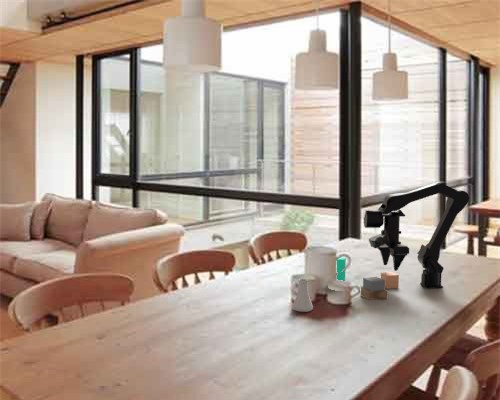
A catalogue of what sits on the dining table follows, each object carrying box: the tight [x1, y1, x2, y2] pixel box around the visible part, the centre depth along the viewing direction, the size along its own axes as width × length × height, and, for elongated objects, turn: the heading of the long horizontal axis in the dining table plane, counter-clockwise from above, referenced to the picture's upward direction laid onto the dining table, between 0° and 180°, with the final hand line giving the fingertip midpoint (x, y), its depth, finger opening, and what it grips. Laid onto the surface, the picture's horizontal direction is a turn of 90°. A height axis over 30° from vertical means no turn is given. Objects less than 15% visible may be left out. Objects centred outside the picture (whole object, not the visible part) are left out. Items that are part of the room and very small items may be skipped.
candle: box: [337, 256, 347, 282], centre depth 212 cm, size 6×6×12 cm
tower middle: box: [362, 276, 386, 291], centre depth 195 cm, size 6×6×4 cm
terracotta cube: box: [380, 271, 400, 289], centre depth 210 cm, size 5×5×5 cm
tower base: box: [360, 285, 388, 301], centre depth 195 cm, size 7×7×4 cm
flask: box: [291, 278, 314, 313], centre depth 181 cm, size 7×7×10 cm
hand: (390, 267), depth 210 cm, fingers open, 9 cm apart
